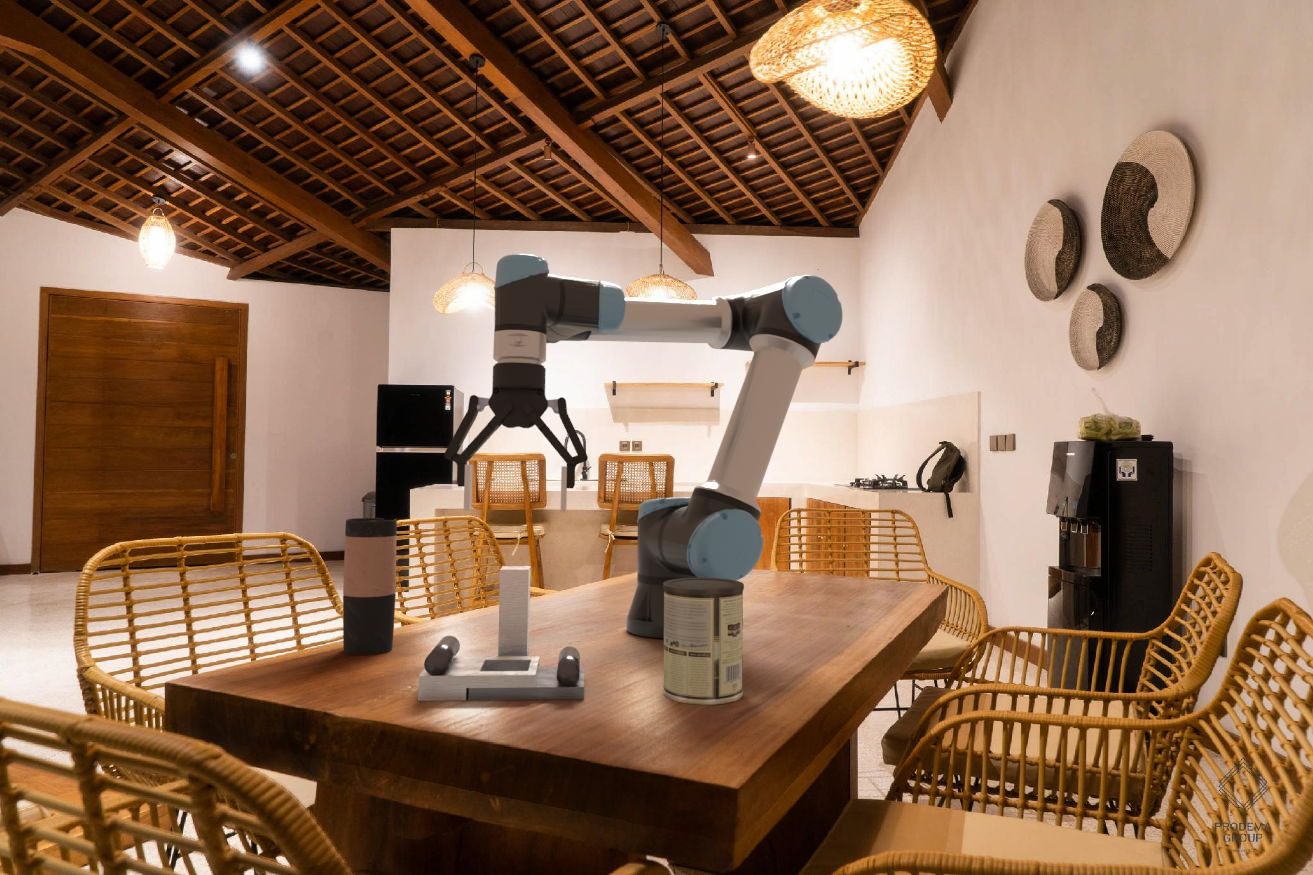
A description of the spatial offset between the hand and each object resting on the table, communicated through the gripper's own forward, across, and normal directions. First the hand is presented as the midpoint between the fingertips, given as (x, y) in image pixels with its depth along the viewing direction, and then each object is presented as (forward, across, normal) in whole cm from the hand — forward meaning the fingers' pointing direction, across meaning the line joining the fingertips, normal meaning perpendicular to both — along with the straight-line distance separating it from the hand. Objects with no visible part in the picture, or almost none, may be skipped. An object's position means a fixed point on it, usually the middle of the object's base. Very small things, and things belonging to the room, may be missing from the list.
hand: (515, 511), depth 118 cm
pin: (+22, 0, 0) cm, 22 cm away
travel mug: (+22, -23, +11) cm, 34 cm away
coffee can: (+22, +25, -15) cm, 37 cm away
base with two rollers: (+22, 0, -12) cm, 25 cm away
